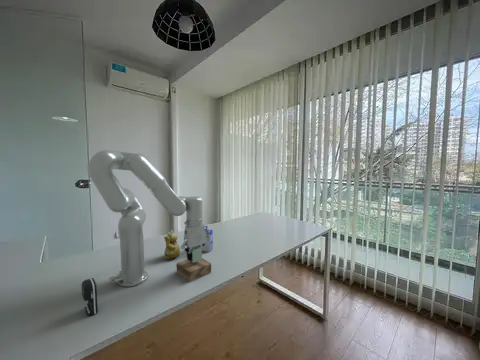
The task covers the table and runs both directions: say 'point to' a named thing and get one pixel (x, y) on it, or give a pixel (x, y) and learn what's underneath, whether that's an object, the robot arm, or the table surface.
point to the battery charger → (90, 296)
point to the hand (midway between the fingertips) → (194, 257)
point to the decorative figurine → (171, 246)
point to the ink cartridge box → (208, 240)
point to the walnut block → (193, 269)
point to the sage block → (196, 253)
